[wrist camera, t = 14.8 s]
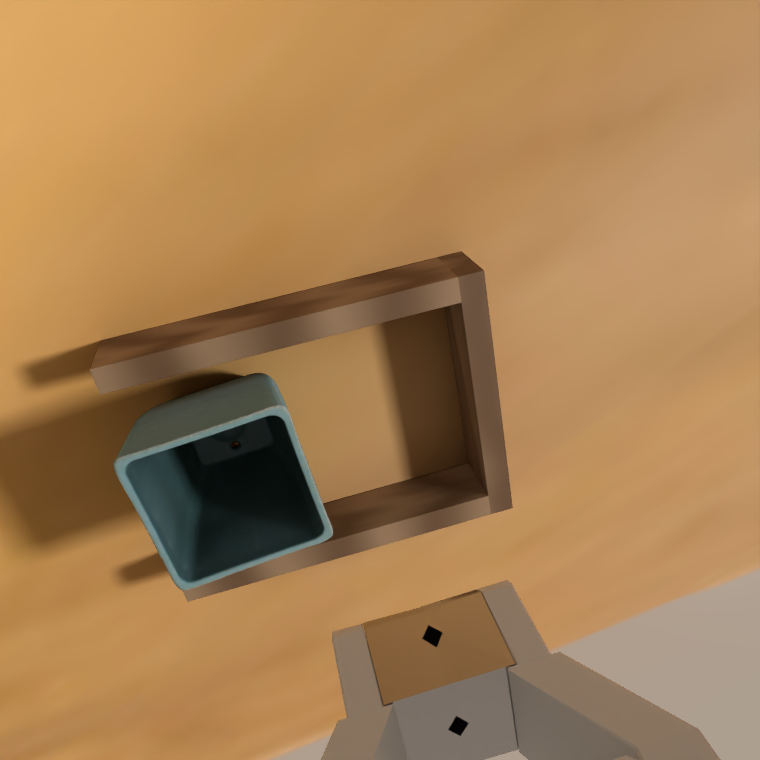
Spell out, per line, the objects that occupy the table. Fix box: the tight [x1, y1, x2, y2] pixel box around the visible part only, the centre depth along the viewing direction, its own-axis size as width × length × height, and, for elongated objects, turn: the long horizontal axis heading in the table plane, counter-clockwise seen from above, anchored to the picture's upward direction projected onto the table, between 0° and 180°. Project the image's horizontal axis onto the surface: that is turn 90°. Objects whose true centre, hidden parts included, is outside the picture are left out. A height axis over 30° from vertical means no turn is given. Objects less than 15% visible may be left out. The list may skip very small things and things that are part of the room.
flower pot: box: [113, 373, 333, 590], centre depth 40 cm, size 9×9×9 cm
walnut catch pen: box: [90, 252, 513, 602], centre depth 43 cm, size 22×16×4 cm
